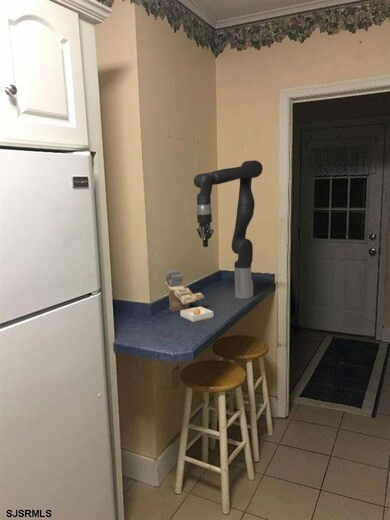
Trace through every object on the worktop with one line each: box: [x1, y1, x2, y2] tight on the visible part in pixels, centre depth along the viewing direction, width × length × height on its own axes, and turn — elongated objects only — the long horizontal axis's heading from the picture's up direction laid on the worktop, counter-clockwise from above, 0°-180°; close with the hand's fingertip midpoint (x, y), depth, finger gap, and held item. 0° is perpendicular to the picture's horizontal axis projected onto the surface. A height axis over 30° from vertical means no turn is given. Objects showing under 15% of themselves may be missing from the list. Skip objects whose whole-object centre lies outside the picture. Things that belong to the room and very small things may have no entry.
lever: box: [164, 269, 205, 304], centre depth 220 cm, size 20×13×7 cm, turn 32°
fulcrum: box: [168, 286, 191, 313], centre depth 222 cm, size 4×10×10 cm, turn 122°
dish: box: [179, 306, 214, 323], centre depth 208 cm, size 12×12×3 cm
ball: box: [193, 309, 201, 315], centre depth 208 cm, size 4×4×4 cm
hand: (205, 246), depth 224 cm, fingers closed
